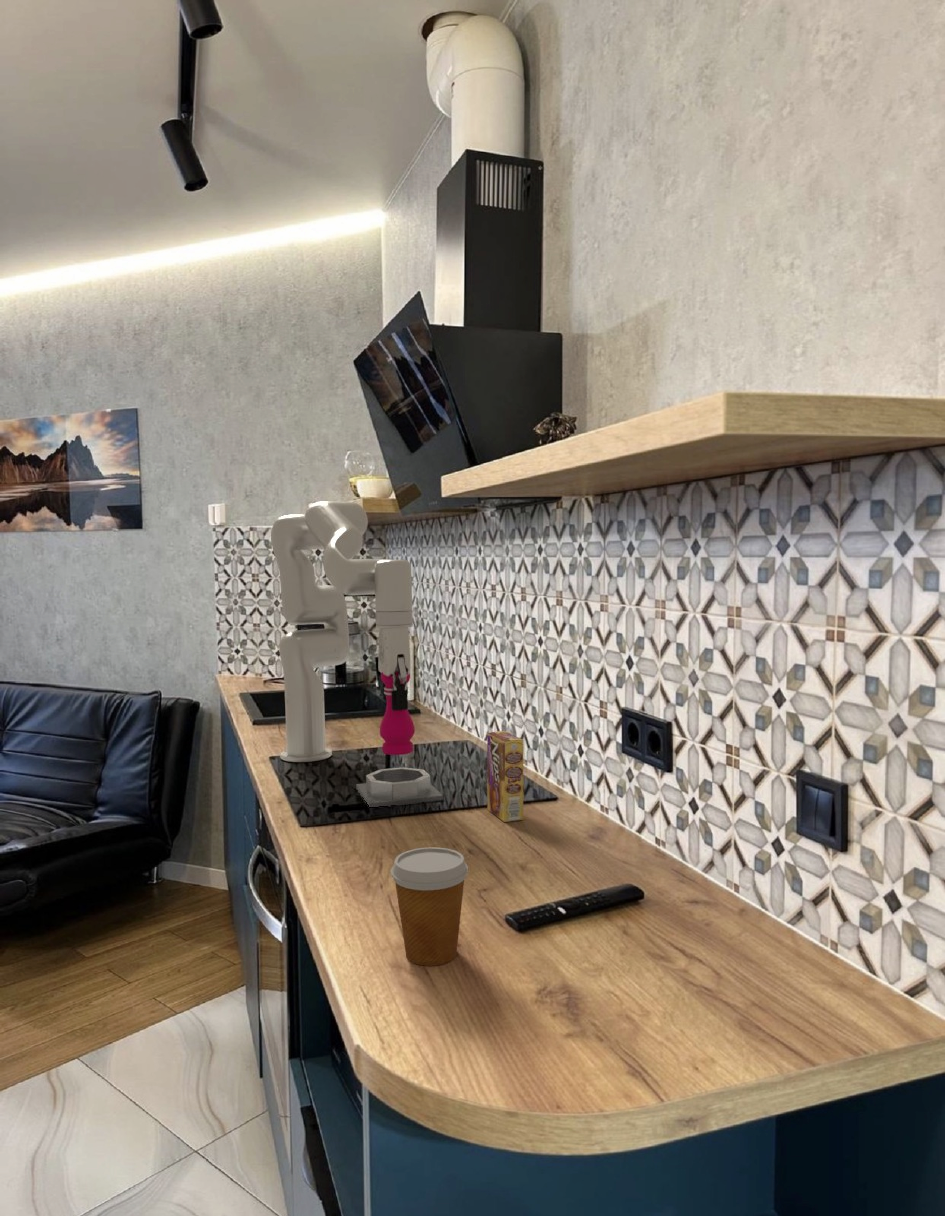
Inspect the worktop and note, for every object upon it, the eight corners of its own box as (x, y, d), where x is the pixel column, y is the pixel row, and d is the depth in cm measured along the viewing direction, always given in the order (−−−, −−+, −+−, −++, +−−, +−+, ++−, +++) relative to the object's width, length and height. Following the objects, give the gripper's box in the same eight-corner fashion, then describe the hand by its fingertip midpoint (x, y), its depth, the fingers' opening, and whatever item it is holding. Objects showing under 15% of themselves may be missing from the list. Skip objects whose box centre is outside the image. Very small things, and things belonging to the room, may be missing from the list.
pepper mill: (417, 748, 176) (415, 653, 175) (412, 755, 169) (409, 657, 168) (384, 748, 177) (381, 654, 176) (376, 755, 170) (374, 657, 169)
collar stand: (356, 788, 179) (355, 770, 179) (424, 781, 183) (423, 763, 183) (369, 808, 165) (369, 788, 164) (443, 800, 169) (442, 780, 169)
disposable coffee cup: (485, 953, 104) (483, 858, 103) (427, 981, 97) (425, 880, 96) (434, 929, 111) (432, 840, 110) (377, 954, 104) (374, 860, 103)
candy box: (525, 820, 156) (524, 739, 155) (504, 823, 154) (502, 741, 153) (507, 807, 164) (506, 730, 163) (486, 809, 162) (485, 732, 161)
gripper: (368, 618, 179) (370, 702, 180) (385, 623, 162) (387, 716, 164) (402, 616, 181) (404, 700, 182) (422, 621, 165) (424, 713, 166)
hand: (396, 706), depth 173 cm, fingers closed on pepper mill, 5 cm apart
